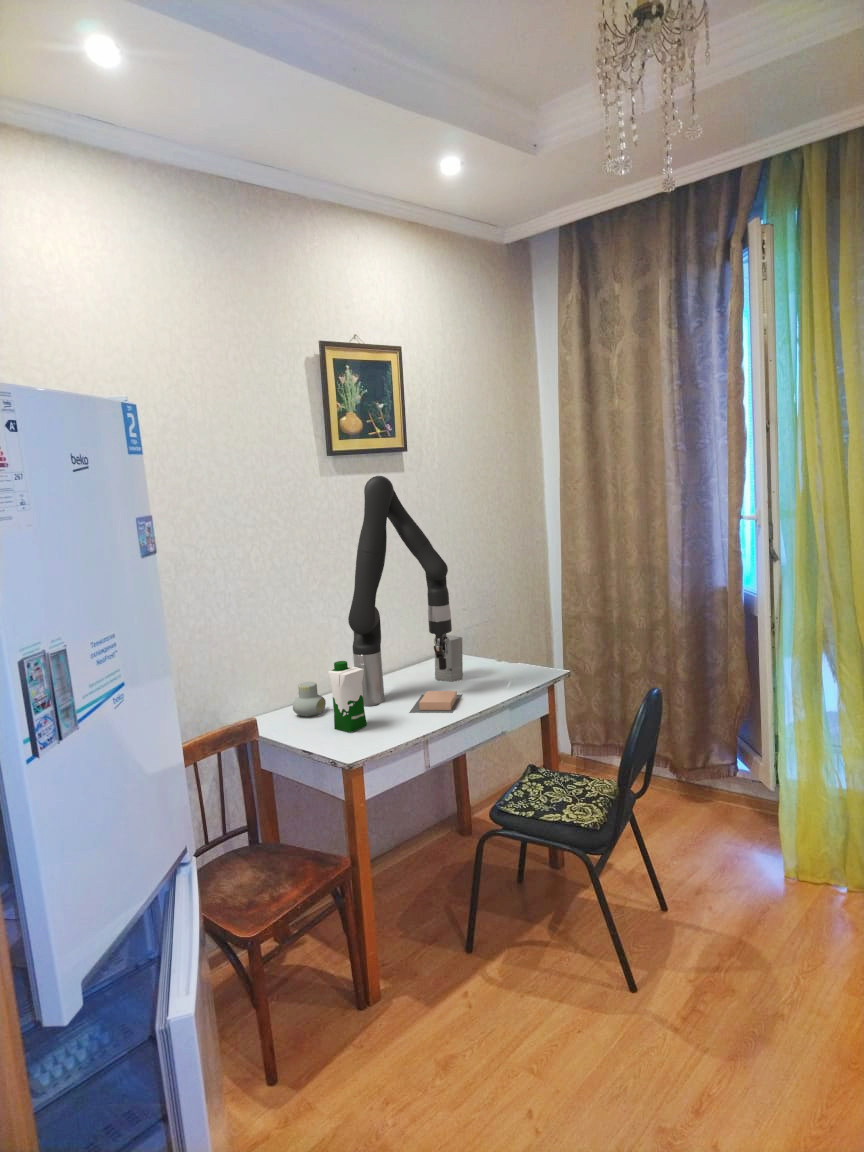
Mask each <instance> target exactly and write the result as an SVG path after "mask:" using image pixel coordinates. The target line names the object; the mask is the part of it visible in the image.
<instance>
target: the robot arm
mask: <svg viewBox="0 0 864 1152" xmlns="http://www.w3.org/2000/svg"><path fill="white" fill-rule="evenodd" d="M394 489H395V488H394V486H393V483H392V482H391V480H390V479H389V478H388V477H385V476H383V475H376V476H372V477H371V478H370V479H368V480H367V481H366V484H365V485H364V490H363V494H364V509H363V510H364V511H363V512H364V513H363V514H364V515H363V522H362V526H361V529H360V532H359V533H360V535H359V537H358V543H357V544H358V545H357V550H356V558H355V571H354V572H355V574H354V587H353V588H354V589H353V596H352V600H351V605H350V609H349V613H348V617H347V618H348V619H347V620H348V621H347V622H348V625H349V627H350V629H351V631H352V632H353V642H352V657H353V658H352V660H353V667H358V668H361V669H364V672H363V680H362V687H363V700H364V707H365V706H366V707H371V706H378V705H381V704H382V703H384V702H385V699H386V698H385V688H384V677H383V676H384V673H383V661H382V651H381V650H382V649H381V644H382V630H381V629H382V627H381V625H382V624H381V616H380V612H379V611H380V610H378V608H377V606H376V601H377V600H376V599H377V592H378V588H379V586H380V581H381V579H382V576H383V573H384V568H385V562H386V561H385V560H386V555H387V554H386V553H387V544H388V543H387V542H388V541H387V538H388V536H387V534H388V533H387V524H388V523H387V521H388V520H389V521H390V523H391V524H392V526H393V527H394V529H395V531H396V533H397V535H398V536H399V537H400V539H401V540H402V542H403V543H404V545H405V546H406V548H407V549H408V550H409V551H410V553H411V554H412V556H414V558H415V559H416V560H417V561H418V564H420V565H421V568H422V569H423V571H424V572H425V573H424V574H425V580H426V587H427V619H428V632H429V633H430V634H432V635H435V637H434V639H433V644H434V645H433V650H434V655H435V654H436V657H437V658H438V659H439V669H440V670H445V669H446V668H447V665H446V657H447V654H448V641H449V639H448V637H446V635H447V634H449V633H451V632H452V630H453V628H452V614H451V613H452V611H451V607H450V597H449V589H448V587H447V586H448V585H447V584H448V583H447V575H448V573H449V568H448V564H447V563H446V562H445V560H444V559H443V558H442V556H441V555H440V554H439V553H438V552H437V550H435V548H434V546H433V545H432V542H431V541H430V540H429V538H428V537H427V536H426V534H425V533H424V531H423V530H422V529H421V528H420V526H419V525H418V523H416V521H415V520H414V519H413V517H412V516H411V515H410V514H409V513H408V511H407V510H406V508H405V507H404V506H403V504H402V503H401V500H400V499H399V496H398V495H397V493H396V491H395V490H394Z"/></svg>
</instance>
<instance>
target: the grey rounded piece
mask: <svg viewBox="0 0 864 1152" xmlns="http://www.w3.org/2000/svg"><path fill="white" fill-rule="evenodd" d="M297 688H298V697H296V698H295V699H294V701H293V702H292V711H293V712H294V713H295V714H296V715H299V716H301V717H314V716H318V715H319V714H321V713H322V712H323V711H324V710H325V707H326V699H325V697H324V696H322V695H319V693H318V683H316V682H315V681H305V682H304V681H303V682H301V683H299V684H298V687H297Z"/></svg>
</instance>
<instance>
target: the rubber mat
mask: <svg viewBox="0 0 864 1152" xmlns="http://www.w3.org/2000/svg"><path fill="white" fill-rule="evenodd" d="M424 695H425V694H421V695H420V697H419V698H418V700H416V702H415V704H414V705H413V707H412V708H411V709H410V710H409V712H408V714H453V713H454V712H455V710H456V708H457V706H458V704H459V703H460V701H461V699H462V697H463V694H459V693H458V694H457V700H456V702H455V703H454V705H453V707H452V709H451V710H420V707H419V702H420V701H421V699H422V698H423V696H424Z"/></svg>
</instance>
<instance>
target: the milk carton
mask: <svg viewBox="0 0 864 1152" xmlns="http://www.w3.org/2000/svg"><path fill="white" fill-rule="evenodd" d="M333 668H334V669H331V670H329V671H327V673H328V677H329V681H330V684H331V685H330V686H331V694H332V704H333V725H334V728H333V729H334V730H337V731H340V732H345V733H349V734H352V733H354V732H357V731H358V730H359V731H360V729H364V728H366V727H368V724H367V718H366V717H367V716H366V712H365V711H366V710H365V706H364V700H363V687H362V680H363V672H364V669H361V668H358V667H354V666H351V665H350V666H349V664H348V661H347V660H337V661H335V662H333Z"/></svg>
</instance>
